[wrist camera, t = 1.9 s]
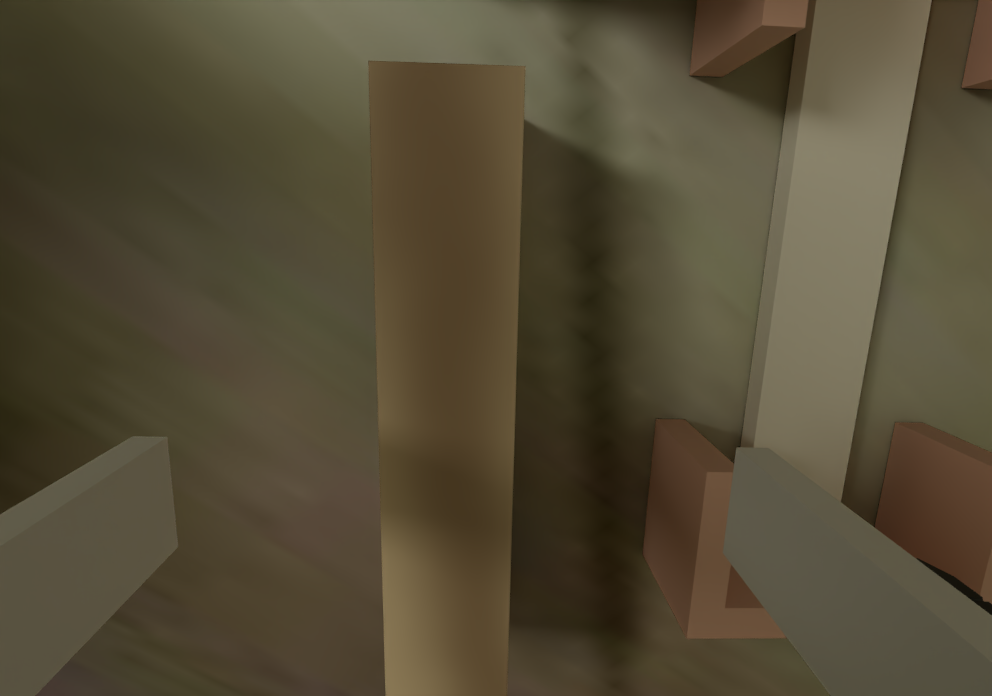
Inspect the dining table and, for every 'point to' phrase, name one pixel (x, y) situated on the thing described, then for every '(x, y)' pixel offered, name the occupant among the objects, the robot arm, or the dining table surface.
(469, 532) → the tan wooden beam
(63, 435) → the dining table surface
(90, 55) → the dining table surface
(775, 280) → the endcap rail
